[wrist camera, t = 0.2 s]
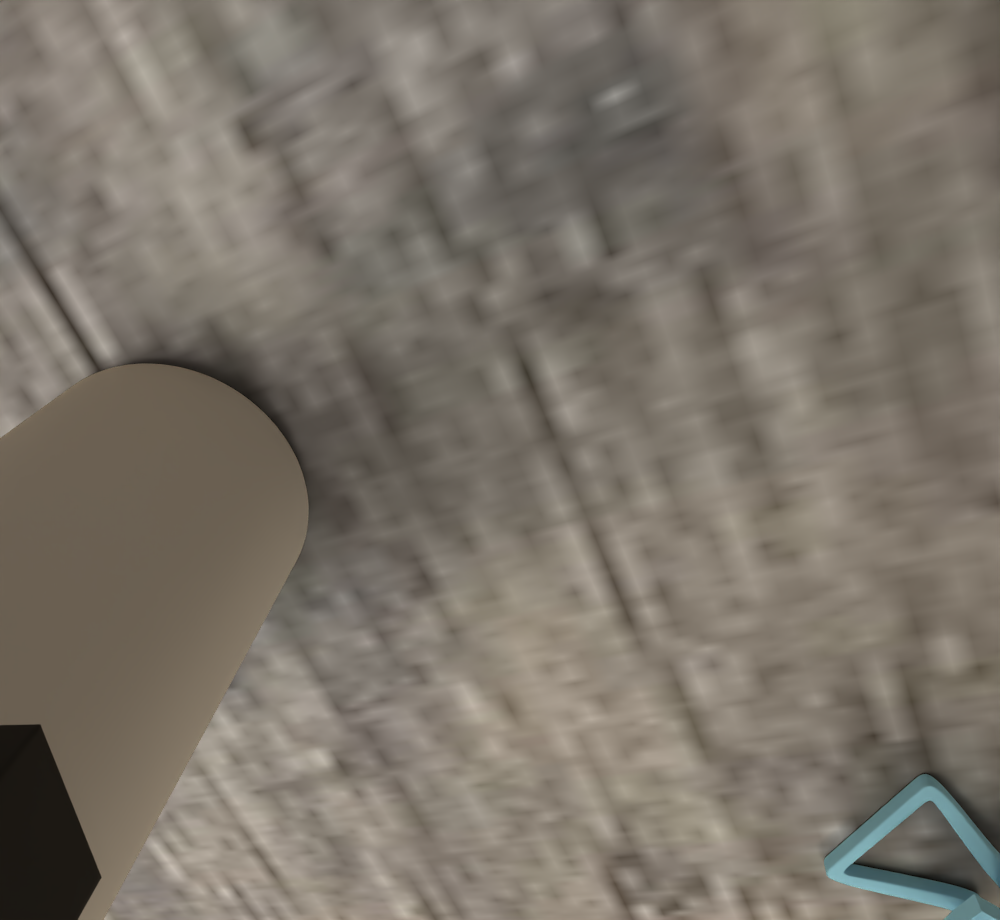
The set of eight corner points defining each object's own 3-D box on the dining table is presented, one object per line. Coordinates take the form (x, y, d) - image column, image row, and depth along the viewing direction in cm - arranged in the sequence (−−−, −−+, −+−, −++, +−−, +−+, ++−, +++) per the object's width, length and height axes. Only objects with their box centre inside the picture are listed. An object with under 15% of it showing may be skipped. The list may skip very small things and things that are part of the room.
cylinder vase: (347, 421, 40) (42, 933, 18) (274, 636, 46) (-32, 1236, 23) (68, 313, 39) (-624, 713, 17) (27, 546, 45) (-540, 1083, 22)
